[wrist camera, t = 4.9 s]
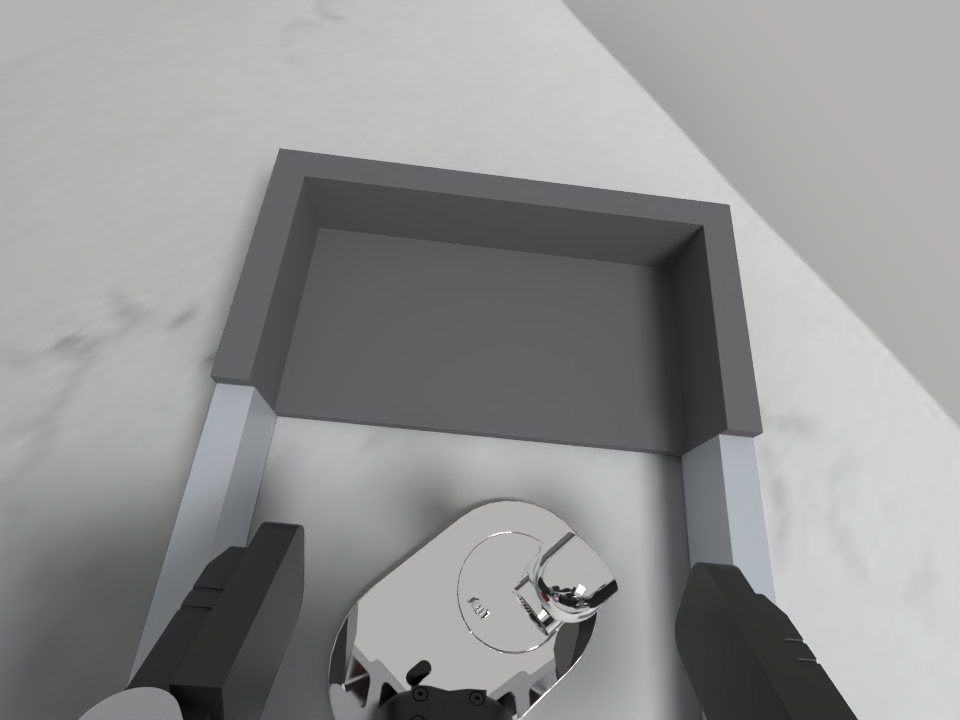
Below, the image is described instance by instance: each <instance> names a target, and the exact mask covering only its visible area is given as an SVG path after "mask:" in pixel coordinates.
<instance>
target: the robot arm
mask: <svg viewBox="0 0 960 720" xmlns="http://www.w3.org/2000/svg"><path fill="white" fill-rule="evenodd" d="M303 591H304V528H303V526H302V525H297V524H285V523H274V522H264V523H262V525H261V526H260V527H259V529H258V531H257V533H256V534H255V536H254V538H253V540H252V541H251V543H250V545H249V547H248V548H246V547H235V546H230V547H229V548H228V549H226V550H225V551H224V552H223V553H221V554H220V555H219V556H217V557H216V558H215V559H213V560H212V561H211V562H210V563H208V564H207V566H206V567H205V569H204V570H203V572H202V573H201V575H200V576H199V578H198V579H197V581H196V582H195V584H194V586H193V589H192V591H190V592H189V593H188V595H187V596H186V598H185V599H184V601H183V602H182V604H181V607H180V610H177V612H176V613H175V615H174V616H173V618H172V619H171V621H170V622H169V624H168V625H167V627H166V628H165V630H164V631H163V633H162V634H161V636H160V638H159V639H158V641H157V642H156V644H155V645H154V647H153V648H152V650H151V651H150V653H149V654H148V656H147V657H146V659H145V660H144V662H143V664H142V665H141V667H140V668H139V670H138V671H137V673H136V674H135V676H134V677H133V679H132V680H131V682H130V683H129V685H128V686H127V687H126V689H125V690H124V691H122V692H119V693H117V694H114V695H112V696H110V697H108V698H106V699H104V700H103V701H101V702H99V703H98V704H96V705H95V706H94V707H92V708H91V709H90V710H88V711H87V712H86V713H85V714H84V715H83V716H82V717H81V718H79V719H78V720H259V718H260V715H261V713H262V710H263V708H264V705H265V702H266V700H267V697H268V695H269V692H270V689H271V687H272V684H273V681H274V679H275V676H276V674H277V671H278V668H279V666H280V663H281V661H282V658H283V655H284V653H285V650H286V647H287V645H288V642H289V640H290V637H291V634H292V632H293V629H294V627H295V624H296V621H297V619H298V615H299V612H300V608H301V604H302V598H303ZM675 635H676V643H677V647H678V651H679V653H680V656H681V658H682V661H683V663H684V666H685V668H686V670H687V673H688V675H689V678H690V680H691V683H692V685H693V687H694V690H695V692H696V695H697V697H698V700H699V702H700V704H701V707H702V709H703V712H704V714H705V716H706V719H707V720H858V719H857V718H856V716H855V715H854V713H853V712H852V710H851V709H850V707H849V706H848V704H847V703H846V702H845V700H844V699H843V697H842V696H841V694H840V693H839V691H838V690H837V688H836V687H835V685H834V684H833V682H832V681H831V679H830V678H829V677H828V675H827V674H826V672H825V671H824V669H823V668H822V666H821V665H820V664H817V662H816V657H815V656H814V654H813V653H812V651H811V650H810V649H809V647H808V646H807V644H804V643H803V638H802V637H801V635H800V634H799V632H798V631H797V629H796V628H795V626H794V625H793V624H792V622H791V621H790V619H789V618H788V616H787V615H786V614H785V613H784V612H783V611H782V610H780V609H779V608H778V607H777V606H776V605H775V604H774V603H773V602H771V601H770V600H769V599H768V598H767V597H766V596H765V595H764V594H757V593H755V592H754V590H753V589H752V587H751V586H750V584H749V582H748V581H747V579H746V578H745V576H744V575H743V573H742V572H741V570H740V569H739V568H738V567H737V566H735V565H728V564H717V563H705V562H697V563H696V564H695V565H694V566H693V568H692V570H691V573H690V576H689V580H688V583H687V586H686V589H685V592H684V595H683V599H682V602H681V605H680V608H679V611H678V614H677V618H676V624H675Z"/></svg>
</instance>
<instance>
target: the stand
mask: <svg viewBox="0 0 960 720" xmlns="http://www.w3.org/2000/svg"><path fill="white" fill-rule="evenodd" d="M477 545H478V546H477ZM476 546H477V547H476ZM475 547H476V548H475ZM474 548H475V549H474ZM473 549H474V550H473ZM472 550H473V551H472ZM471 551H472V552H471ZM468 555H469V556H468ZM466 558H467V559H466ZM617 592H618V586H617V583H616V581H615V578H614V577H613V575H612V573H611V571H610V570H609V568H608V567H607V566H606V564H605V563H604V562H603V560H602V559H601V558H600V557H599V555H598V554H597V553H596V552H595V551H594V550H593V549H592V548H591V547H590V546H589V545H588V544H587V543H586V542H585V541H584V540H583V539H581V538H580V537H579V536H578V535H577V534H576V533H575V532H574V531H573V530H572V529H571V528H570V527H569V525H568V524H567V523H566V522H564V521H563V520H562V519H560V518H559V517H558V516H556V515H555V514H553V513H552V512H550V511H548V510H546V509H544V508H541V507H539V506H537V505H533V504H529V503H525V502H521V501H501V502H495V503H489V504H486V505H484V506H481V507H478V508H476V509H473V510H472V511H470V512H469V513H467V514H466V515H464V516H462V517H461V518H459V519H458V520H457V521H456V522H454V523H453V524H452V525H450V526H449V527H448V528H447V529H445V530H444V531H443V532H442V533H440V534H439V535H438V536H437V537H435V538H434V539H433V540H431V541H430V542H429V543H428V544H426V545H425V546H424V547H423V548H421V549H420V550H419V551H417V552H416V553H415V554H414V555H412V556H411V557H410V558H409V559H407V560H406V561H405V562H404V563H402V564H401V565H400V566H398V567H397V568H396V569H395V570H393V571H392V572H391V573H390V574H388V575H387V576H386V577H385V578H383V579H382V580H381V581H379V582H378V583H377V584H376V585H374V586H373V587H372V588H371V589H370V590H369V591H368V592H367V593H365V594H364V595H363V596H362V597H361V598H360V599H359V600H358V601H357V602H356V604H355V605H354V606H353V608H352V609H351V611H350V612H349V613H348V615H347V616H346V617H345V619H344V621H343V623H342V625H341V628H340V630H339V632H338V634H337V636H336V639H335V642H334V645H333V649H332V652H331V656H330V663H329V672H328V690H329V701H330V705H331V709H332V713H333V718H334V720H520V719H521V718H522V717H523V716H524V715H525V714H526V713H527V712H528V711H529V710H530V709H531V708H532V707H533V706H534V705H535V704H536V703H537V702H538V701H539V700H540V699H541V698H542V697H544V696H545V695H546V694H547V693H548V692H549V691H550V690H551V689H552V688H553V687H554V686H555V685H556V684H557V683H558V682H559V681H560V680H561V679H562V678H563V677H564V676H565V675H566V674H567V673H568V672H569V671H570V670H571V669H572V668H573V667H574V665H575V664H576V663H577V662H578V661H579V659H580V658H581V657H582V656H583V654H584V652H585V650H586V649H587V647H588V645H589V643H590V641H591V639H592V636H593V633H594V630H595V627H596V623H597V620H598V611H599V609H600V608H601V607H602V606H603V605H604V604H605V603H606V602H607V601H608V600H609V599H611V598H612V597H613V596H614V595H615V594H616V593H617ZM475 636H476V637H477V638H478V639H479V640H478V639H477V638H476V637H475ZM482 642H483V643H482ZM485 644H486V645H485ZM495 649H496V650H495Z"/></svg>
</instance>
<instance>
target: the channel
mask: <svg viewBox="0 0 960 720" xmlns="http://www.w3.org/2000/svg"><path fill="white" fill-rule="evenodd" d="M276 418H277V415H276V414H275V413H274V411H273V410H272V409H271V408H270V406H269V405H268V404H267V402H266V401H265V400H264V399H263V397H262V396H261V395H260V393H259V392H258V391H257V390H256V388H255V387H250V386H241V385H231V384H221V383H217V384H216V388H215V391H214V394H213V398H212V401H211V405H210V408H209V411H208V415H207V418H206V421H205V425H204V428H203V431H202V435H201V438H200V442H199V445H198V448H197V452H196V455H195V458H194V462H193V465H192V468H191V472H190V475H189V478H188V482H187V485H186V489H185V492H184V495H183V499H182V502H181V505H180V509H179V512H178V515H177V519H176V522H175V526H174V529H173V532H172V536H171V539H170V542H169V546H168V549H167V552H166V556H165V559H164V562H163V566H162V569H161V573H160V576H159V579H158V583H157V586H156V589H155V593H154V596H153V599H152V603H151V606H150V609H149V613H148V616H147V620H146V623H145V626H144V630H143V633H142V636H141V640H140V643H139V646H138V650H137V653H136V657H135V660H134V663H133V667H132V670H131V673H130V677H129V680H128V683H127V686H128V685H129V683H130V682H131V680H132V679H133V677H134V676H135V674H136V673H137V671H138V670H139V668H140V667H141V665H142V664H143V662H144V660H145V659H146V657H147V656H148V654H149V653H150V651H151V650H152V648H153V647H154V645H155V644H156V642H157V641H158V639H159V638H160V636H161V634H162V633H163V631H164V630H165V628H166V627H167V625H168V624H169V622H170V621H171V619H172V618H173V616H174V615H175V613H176V612H177V610H180V607H181V604H182V602H183V601H184V599H185V598H186V596H187V595H188V593H189V592H190V591H192V589H193V586H194V584H195V582H196V581H197V579H198V578H199V576H200V575H201V573H202V572H203V570H204V569H205V567H206V566H207V564H208V563H210V562H211V561H212V560H213V559H215V558H216V557H217V556H219V555H220V554H221V553H223V552H224V551H225V550H226V549H228V548H229V547H230V546H235V547H246V543H247V538H248V534H249V530H250V526H251V522H252V518H253V514H254V509H255V505H256V501H257V497H258V493H259V489H260V485H261V480H262V476H263V472H264V468H265V464H266V460H267V456H268V451H269V447H270V443H271V439H272V435H273V431H274V427H275V422H276ZM681 458H682V471H683V483H684V495H685V508H686V520H687V533H688V545H689V557H690V570H692V568H693V566H694V565H695V564H696V563H697V562H705V563H717V564H728V565H735V566H737V567H738V568H739V569H740V570H741V572H742V573H743V575H744V576H745V578H746V579H747V581H748V582H749V584H750V586H751V587H752V589H753V590H754V592H755V593H757V594H764V595H765V596H766V597H767V598H768V599H769V600H770V601H771V602H773V603H774V604H775V605H776V600H775V593H774V586H773V579H772V571H771V564H770V557H769V550H768V542H767V535H766V528H765V521H764V514H763V506H762V499H761V492H760V485H759V477H758V470H757V463H756V456H755V448H754V441H753V438H751V437H741V436H731V435H721V434H719V435H717V436H715V437H713V438H712V439H710V440H708V441H707V442H705V443H703V444H701V445H700V446H698V447H696V448H695V449H693V450H691V451H689V452H688V453H686V454H684V455H682V456H681ZM702 719H703V720H707V719H706V716H705V714H704V712H703V709H702Z"/></svg>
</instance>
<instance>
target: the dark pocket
mask: <svg viewBox="0 0 960 720" xmlns="http://www.w3.org/2000/svg"><path fill="white" fill-rule="evenodd" d="M210 376H211V377H212V378H213V379H214V381H215V382H216V383H221V384H231V385H241V386H250V387H255V388H256V390H257V391H258V392H259V393H260V395H261V396H262V397H263V399H264V400H265V401H266V402H267V404H268V405H269V406H270V408H271V409H272V410H273V411H274V413H275V414H276V415H277V416H282V417H292V418H303V419H313V420H323V421H333V422H343V423H353V424H363V425H373V426H383V427H393V428H403V429H413V430H423V431H433V432H443V433H453V434H464V435H474V436H484V437H494V438H504V439H514V440H524V441H534V442H544V443H554V444H564V445H574V446H584V447H594V448H604V449H614V450H624V451H635V452H645V453H655V454H665V455H675V456H682V455H684V454H686V453H688V452H689V451H691V450H693V449H695V448H696V447H698V446H700V445H701V444H703V443H705V442H707V441H708V440H710V439H712V438H713V437H715V436H717V435H719V434H721V435H731V436H741V437H751V438H754V437H755V436H757V435H759V434H761V433H763V430H762V423H761V416H760V409H759V403H758V396H757V389H756V382H755V375H754V369H753V362H752V355H751V348H750V341H749V335H748V328H747V321H746V314H745V307H744V300H743V294H742V287H741V280H740V273H739V266H738V260H737V253H736V246H735V239H734V232H733V225H732V219H731V212H730V205H727V204H719V203H711V202H703V201H695V200H687V199H679V198H671V197H663V196H655V195H647V194H639V193H631V192H623V191H615V190H607V189H599V188H591V187H583V186H575V185H567V184H559V183H551V182H543V181H535V180H527V179H519V178H512V177H504V176H496V175H488V174H480V173H472V172H464V171H456V170H448V169H440V168H432V167H424V166H416V165H408V164H400V163H392V162H384V161H376V160H368V159H360V158H352V157H344V156H336V155H328V154H320V153H312V152H304V151H296V150H288V149H279V152H278V156H277V159H276V162H275V165H274V169H273V172H272V175H271V179H270V182H269V185H268V188H267V192H266V195H265V198H264V202H263V205H262V208H261V211H260V215H259V218H258V221H257V224H256V228H255V231H254V234H253V238H252V241H251V244H250V247H249V251H248V254H247V257H246V261H245V264H244V267H243V270H242V274H241V277H240V280H239V284H238V287H237V290H236V293H235V297H234V300H233V303H232V306H231V310H230V313H229V316H228V320H227V323H226V326H225V329H224V333H223V336H222V339H221V343H220V346H219V349H218V352H217V356H216V359H215V362H214V366H213V369H212V372H211V375H210Z"/></svg>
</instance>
